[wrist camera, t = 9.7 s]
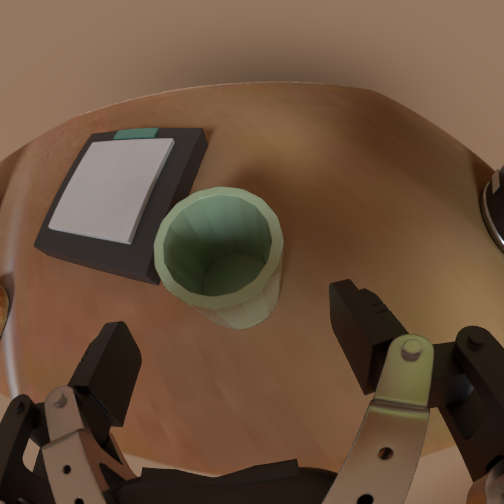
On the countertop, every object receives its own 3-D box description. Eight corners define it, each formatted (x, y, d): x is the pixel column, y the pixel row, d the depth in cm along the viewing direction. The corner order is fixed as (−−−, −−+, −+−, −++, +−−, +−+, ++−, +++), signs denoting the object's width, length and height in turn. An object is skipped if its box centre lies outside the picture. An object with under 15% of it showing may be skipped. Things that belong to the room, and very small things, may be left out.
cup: (286, 256, 20) (291, 194, 12) (271, 336, 18) (269, 320, 10) (209, 244, 21) (176, 182, 13) (190, 319, 19) (138, 291, 11)
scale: (208, 145, 25) (201, 123, 22) (158, 285, 20) (141, 273, 17) (100, 146, 27) (89, 130, 24) (47, 255, 22) (29, 243, 19)
